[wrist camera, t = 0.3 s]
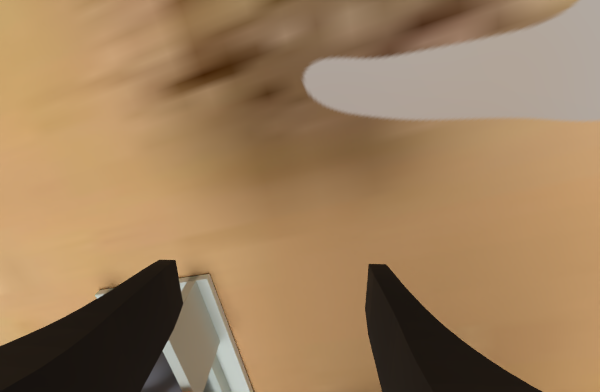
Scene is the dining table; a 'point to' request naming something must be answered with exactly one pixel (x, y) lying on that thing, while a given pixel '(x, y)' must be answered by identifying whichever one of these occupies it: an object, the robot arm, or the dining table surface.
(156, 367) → the grey roller spool
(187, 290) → the white roller cradle
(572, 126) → the dining table surface
